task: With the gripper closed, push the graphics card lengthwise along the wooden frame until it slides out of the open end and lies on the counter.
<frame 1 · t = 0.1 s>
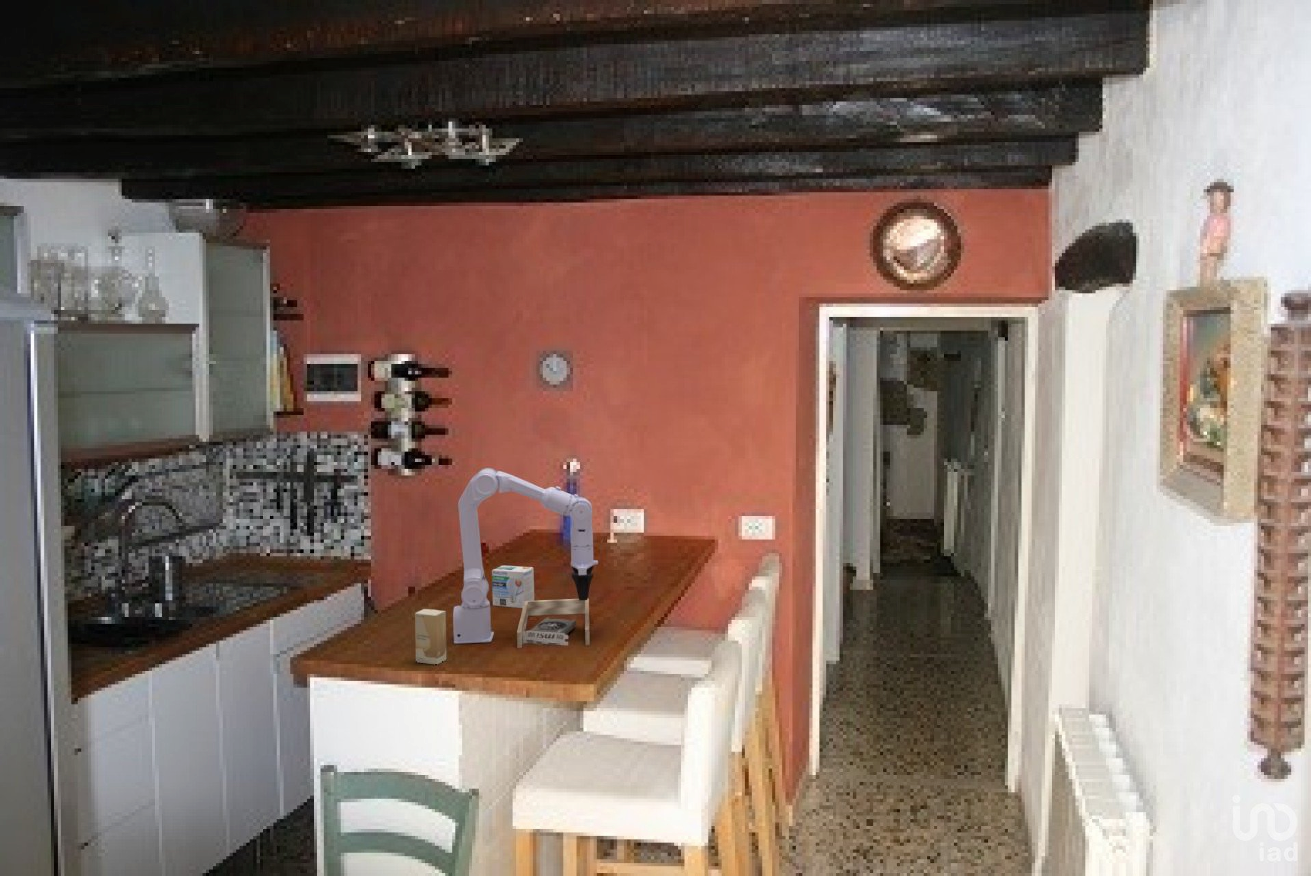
hand: (583, 596, 255), 10 cm above the breakfast bar, tool pointing down, fingers open, 7 cm apart
wooden frame: (555, 629, 261), on the breakfast bar
skincare box: (431, 662, 236), on the breakfast bar
graphics card: (555, 638, 255), on the breakfast bar
light bulb box: (513, 605, 288), on the breakfast bar
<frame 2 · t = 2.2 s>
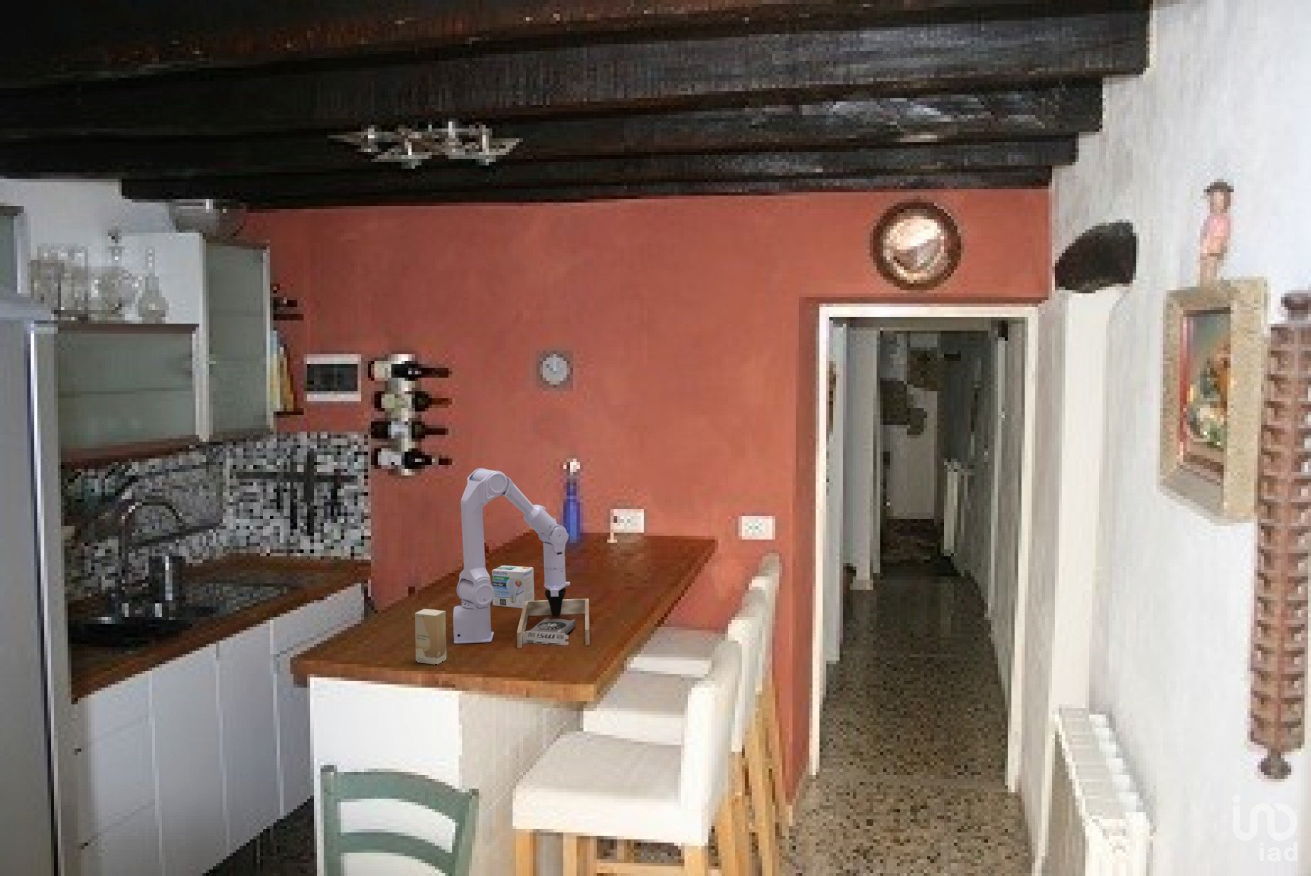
hand: (556, 615, 268), 2 cm above the breakfast bar, tool pointing down, fingers closed
nothing on the breakfast bar moved.
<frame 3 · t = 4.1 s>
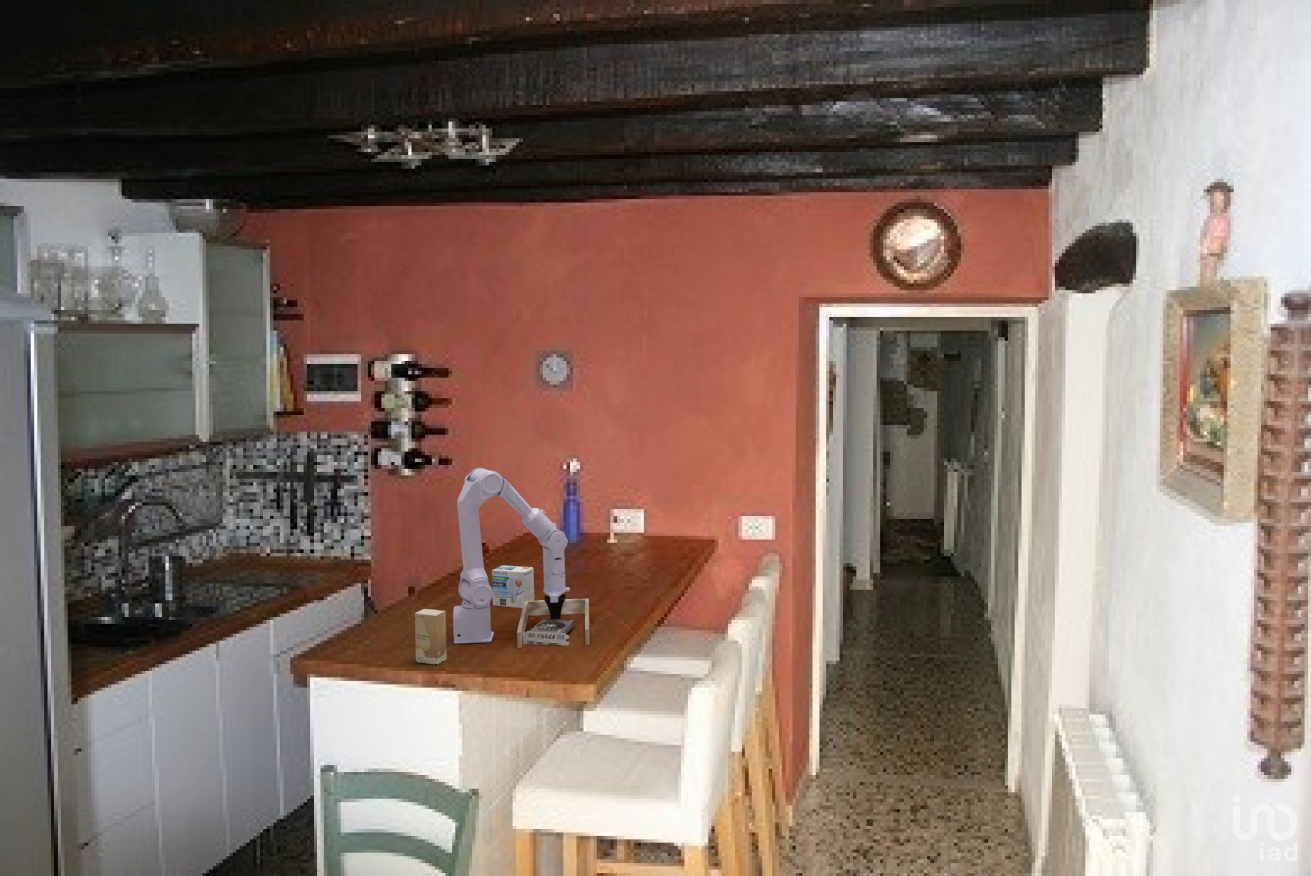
hand: (555, 622, 264), 1 cm above the breakfast bar, tool pointing down, fingers closed
graphics card: (554, 638, 254), on the breakfast bar, touching gripper
everything else where it was.
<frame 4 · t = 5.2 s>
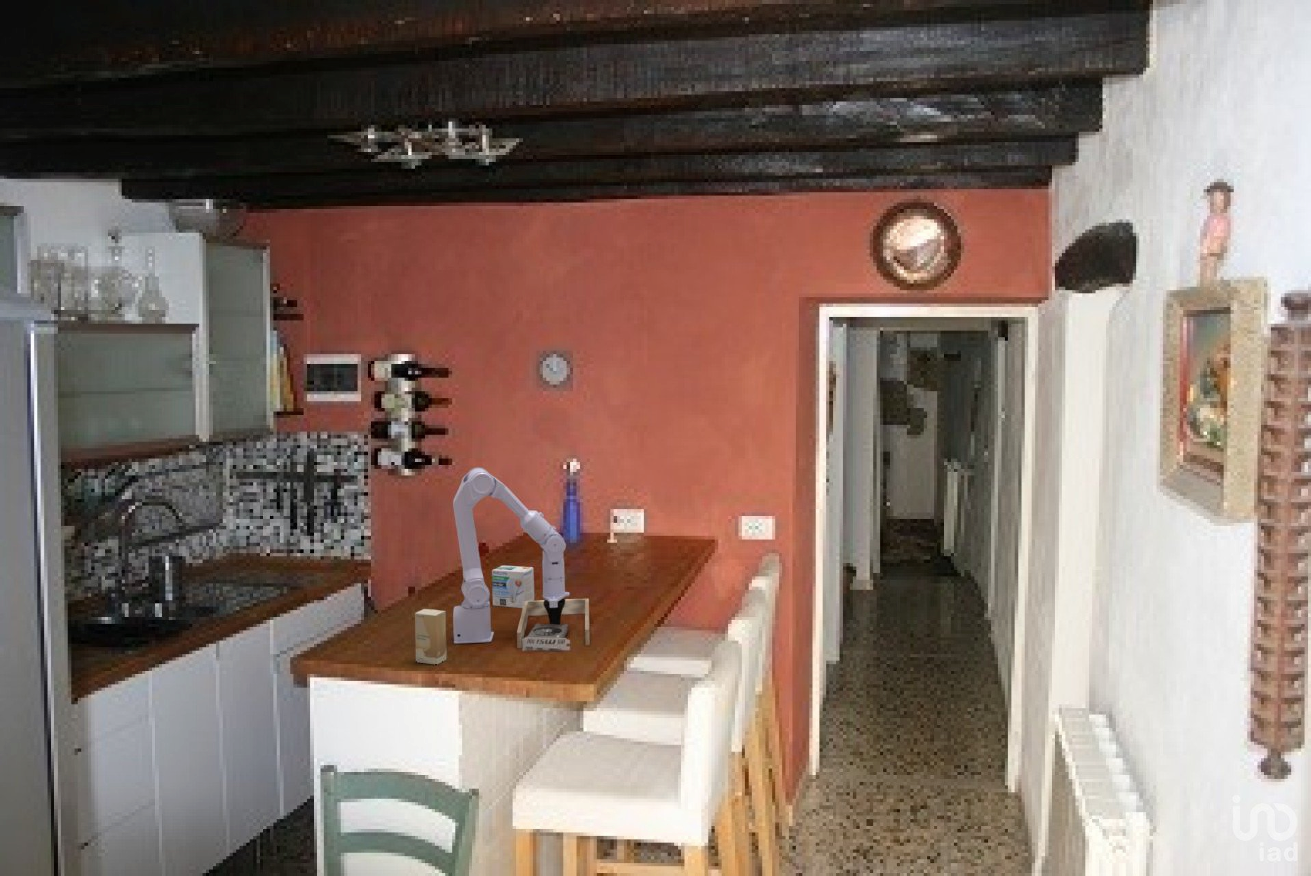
hand: (555, 627, 259), 1 cm above the breakfast bar, tool pointing down, fingers closed
graphics card: (551, 643, 250), on the breakfast bar
everything else where it was.
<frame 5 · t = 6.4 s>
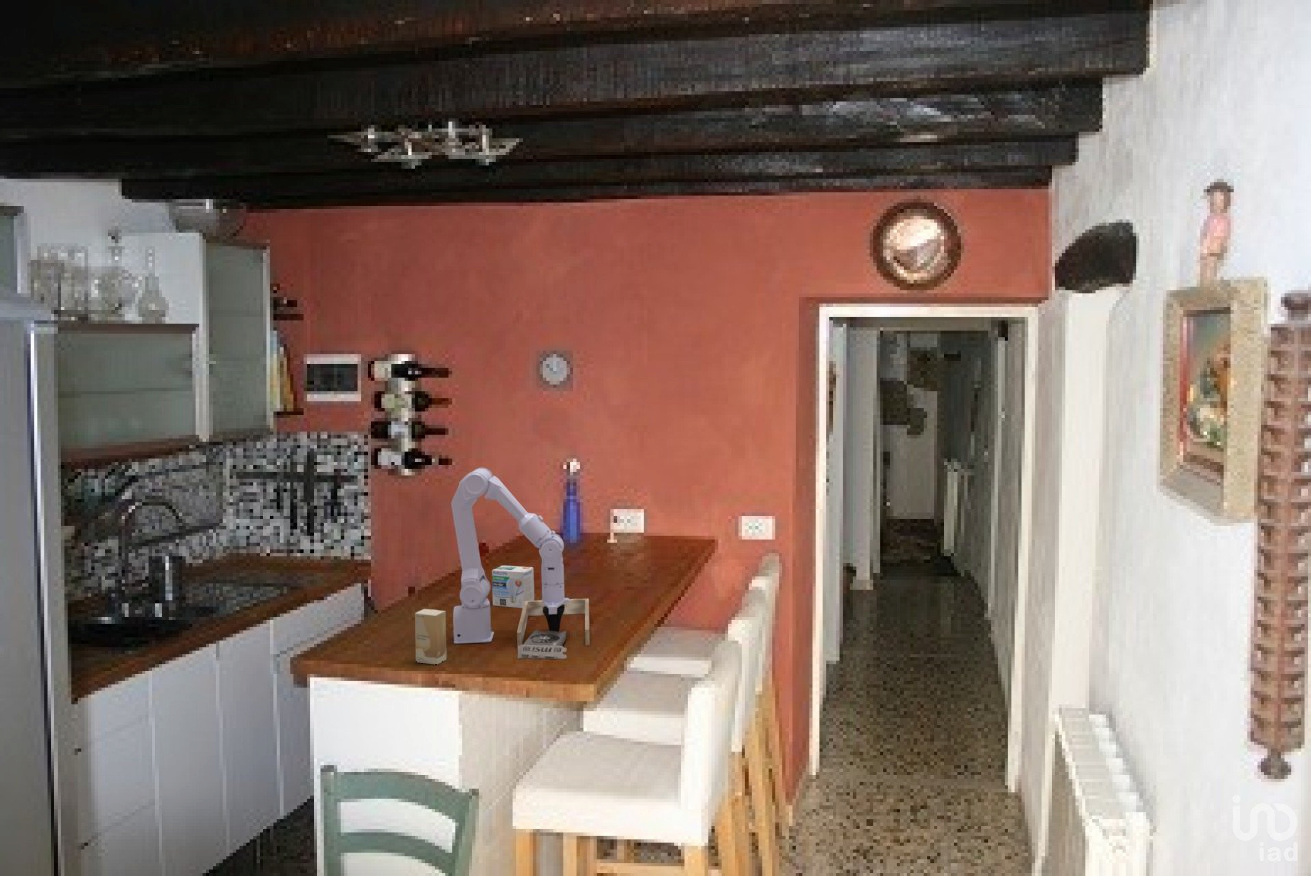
hand: (554, 634, 253), 1 cm above the breakfast bar, tool pointing down, fingers closed
graphics card: (548, 651, 244), on the breakfast bar, touching gripper
everything else where it was.
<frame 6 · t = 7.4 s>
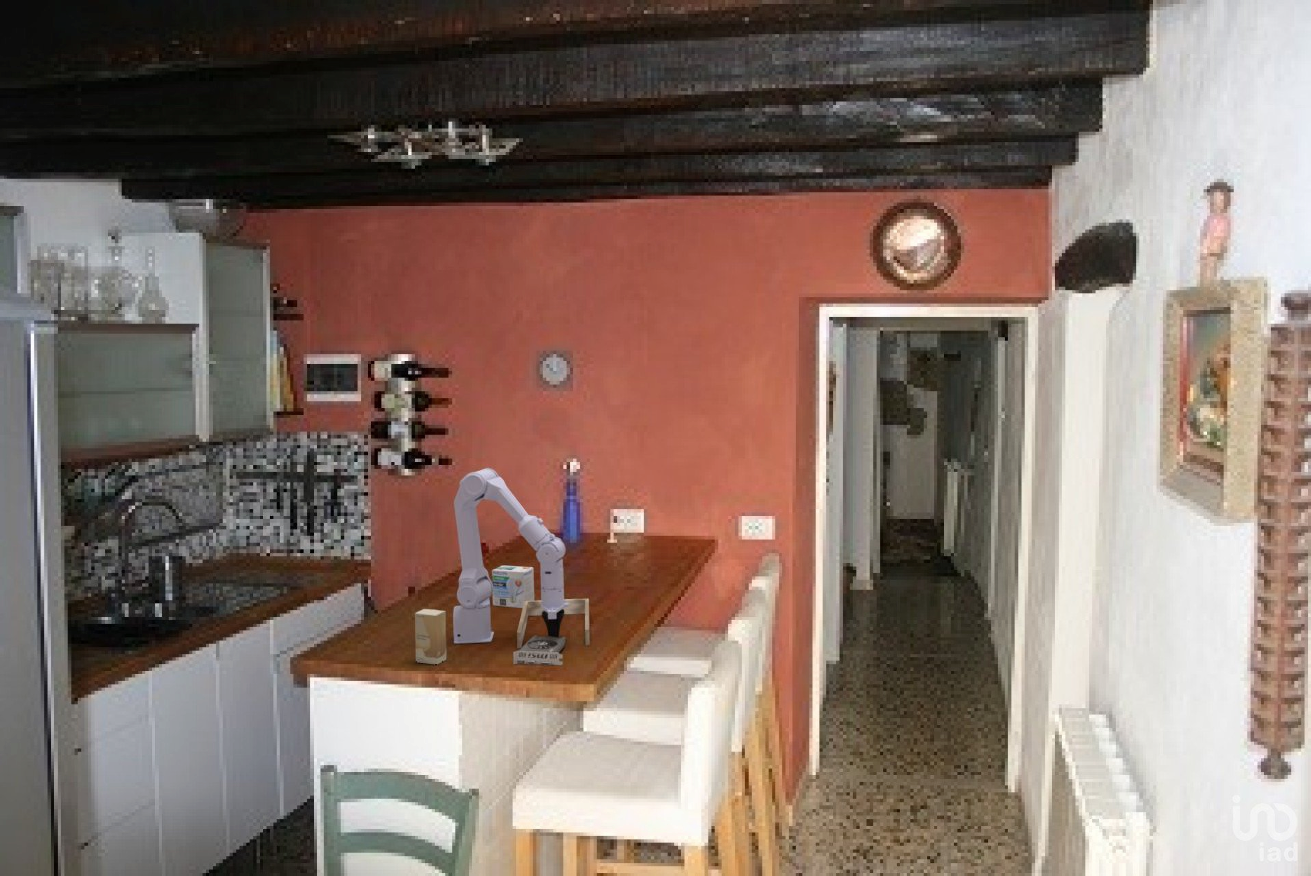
hand: (553, 639, 248), 1 cm above the breakfast bar, tool pointing down, fingers closed
graphics card: (546, 657, 239), on the breakfast bar, touching gripper
everything else where it was.
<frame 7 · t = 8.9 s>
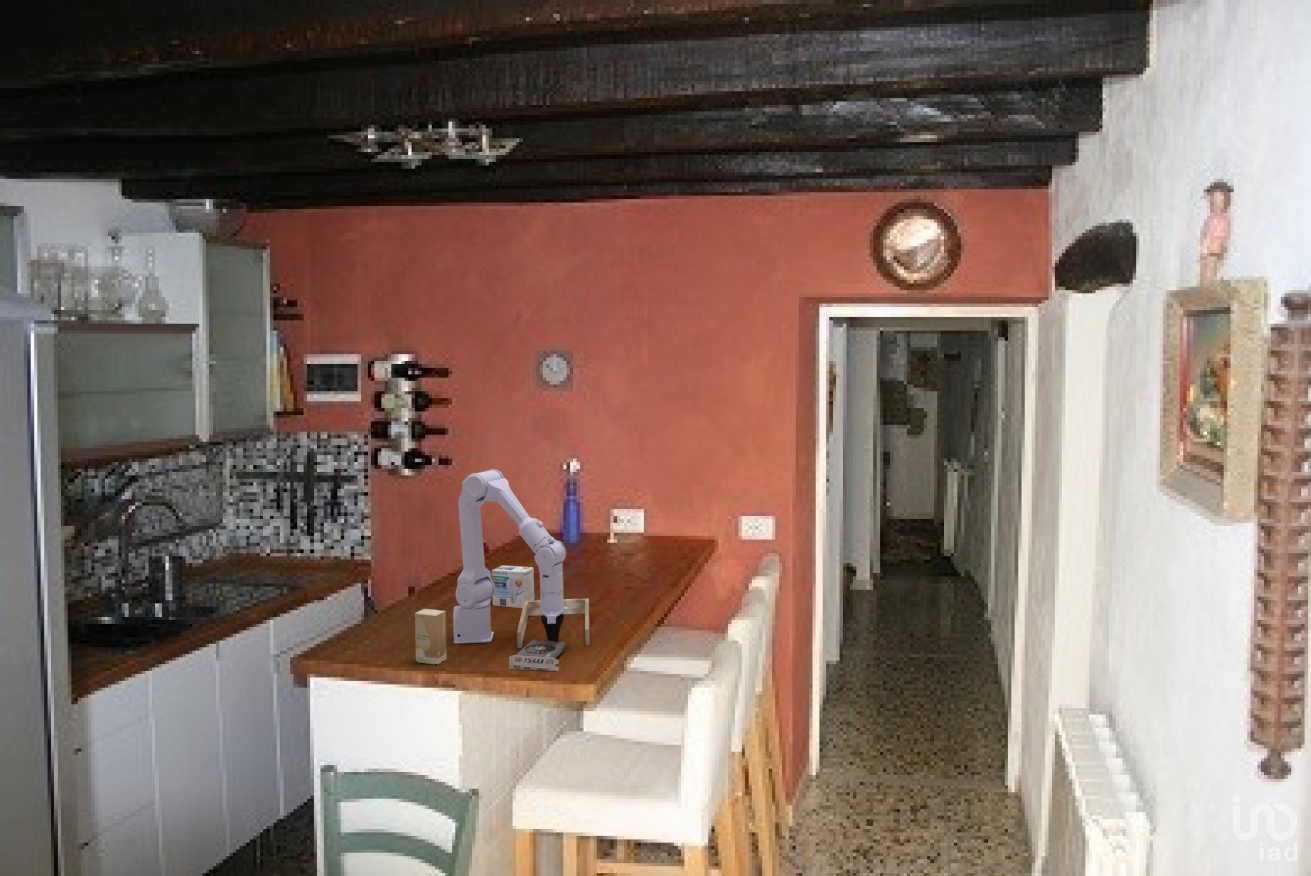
hand: (553, 644, 244), 1 cm above the breakfast bar, tool pointing down, fingers closed
graphics card: (543, 662, 235), on the breakfast bar
everything else where it was.
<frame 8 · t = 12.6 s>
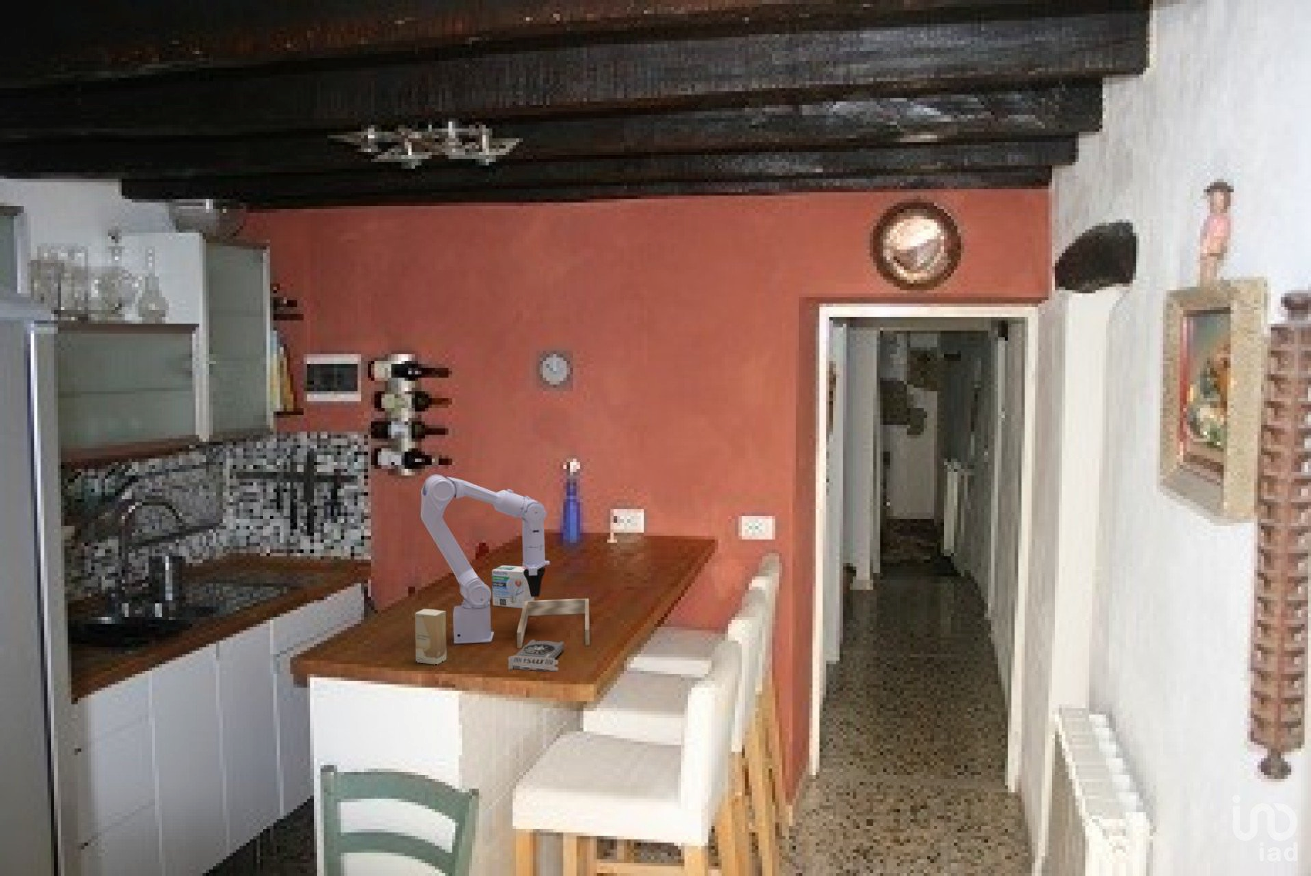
hand: (535, 596, 258), 9 cm above the breakfast bar, tool pointing down, fingers closed
nothing on the breakfast bar moved.
at the end: graphics card inside the target area (3.2 cm from its centre), on the breakfast bar; graphics card touching breakfast bar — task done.
